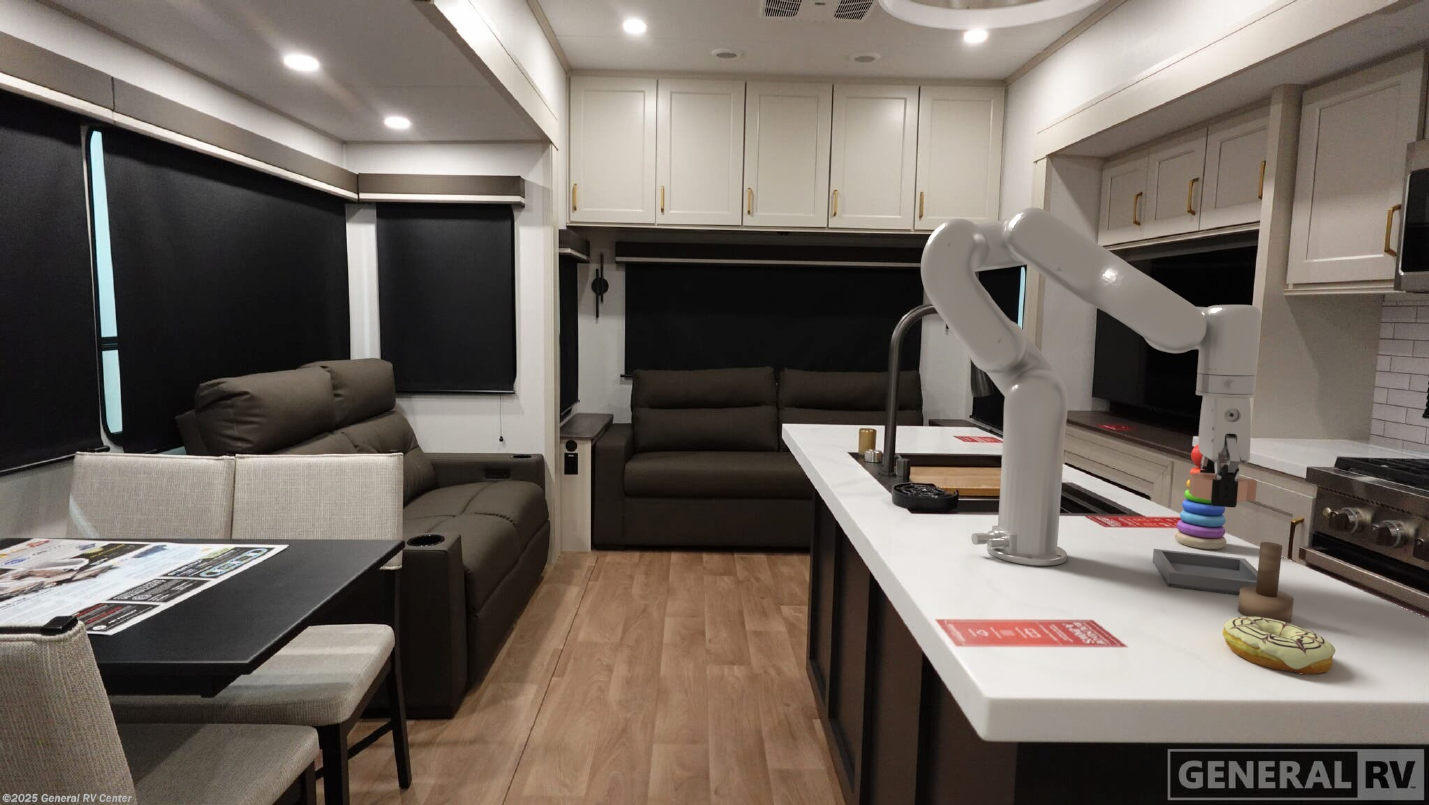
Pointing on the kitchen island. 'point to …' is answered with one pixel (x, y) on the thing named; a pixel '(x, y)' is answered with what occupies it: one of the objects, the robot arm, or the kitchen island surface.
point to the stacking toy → (1200, 517)
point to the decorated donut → (1278, 645)
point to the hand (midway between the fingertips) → (1216, 499)
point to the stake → (1267, 588)
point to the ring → (1203, 487)
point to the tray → (1204, 571)
